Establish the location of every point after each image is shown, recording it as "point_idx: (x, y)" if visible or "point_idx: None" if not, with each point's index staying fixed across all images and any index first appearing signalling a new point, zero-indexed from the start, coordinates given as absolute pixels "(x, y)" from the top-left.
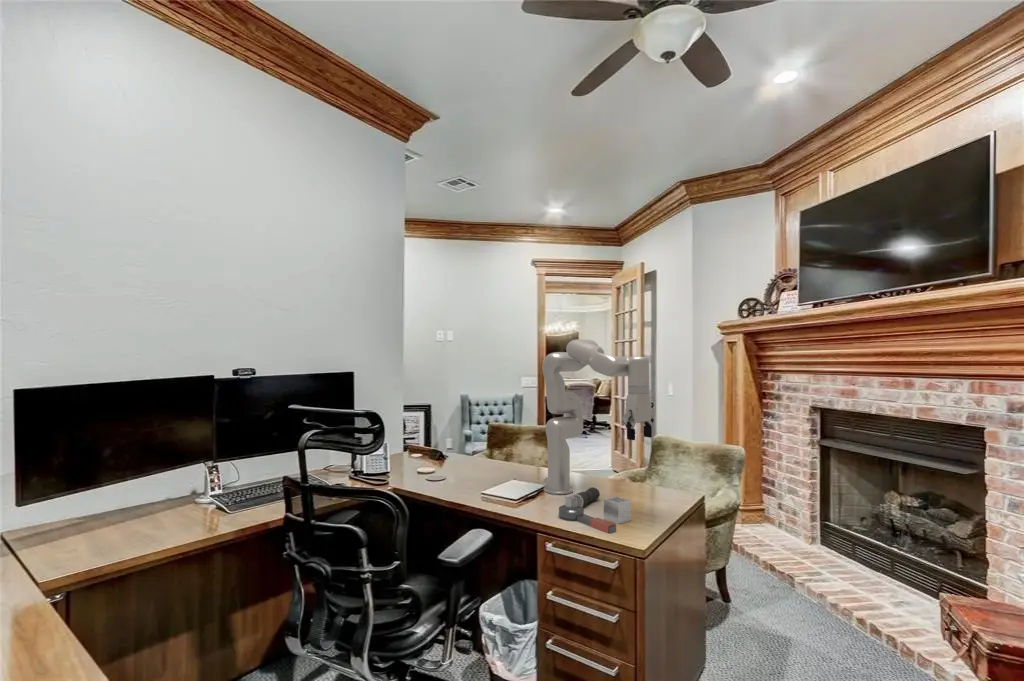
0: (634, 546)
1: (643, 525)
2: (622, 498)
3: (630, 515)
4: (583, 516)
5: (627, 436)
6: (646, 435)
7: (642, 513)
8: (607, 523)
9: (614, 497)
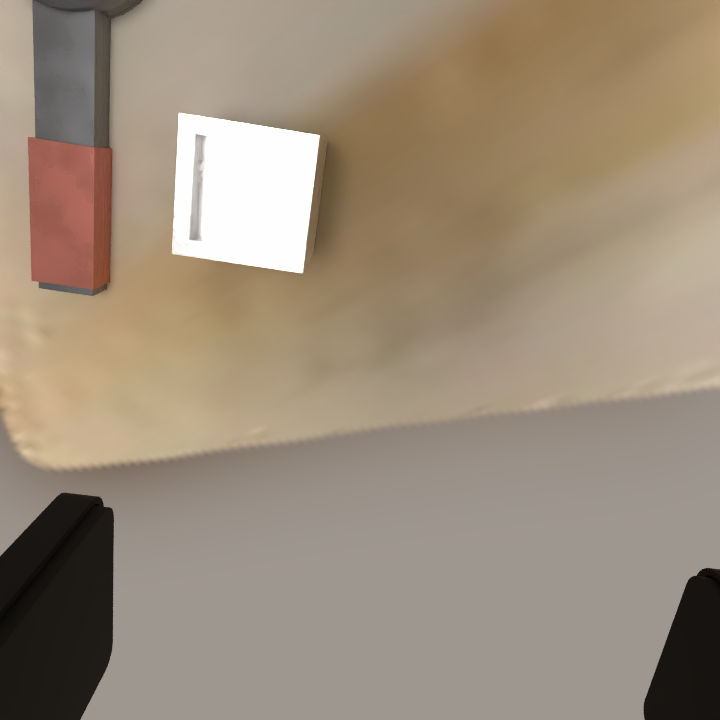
0: (23, 444)
1: (294, 343)
2: (303, 205)
3: (311, 257)
4: (53, 53)
5: (36, 537)
6: (686, 656)
7: (478, 239)
8: (59, 255)
9: (281, 145)
